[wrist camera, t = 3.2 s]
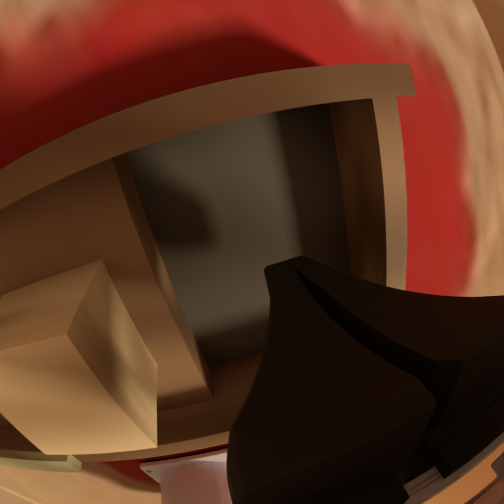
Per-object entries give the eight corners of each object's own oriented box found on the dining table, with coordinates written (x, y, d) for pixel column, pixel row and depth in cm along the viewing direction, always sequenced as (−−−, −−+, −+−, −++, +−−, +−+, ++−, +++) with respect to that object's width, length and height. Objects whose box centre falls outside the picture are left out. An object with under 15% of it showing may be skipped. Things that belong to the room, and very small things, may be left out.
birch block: (157, 365, 11) (157, 447, 8) (63, 384, 11) (45, 454, 7) (102, 258, 9) (66, 334, 6) (3, 294, 9) (-44, 360, 5)
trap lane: (365, 324, 16) (413, 382, 12) (-43, 410, 13) (-59, 451, 8) (339, 74, 11) (422, 59, 6) (-124, 283, 7) (-156, 317, 3)
